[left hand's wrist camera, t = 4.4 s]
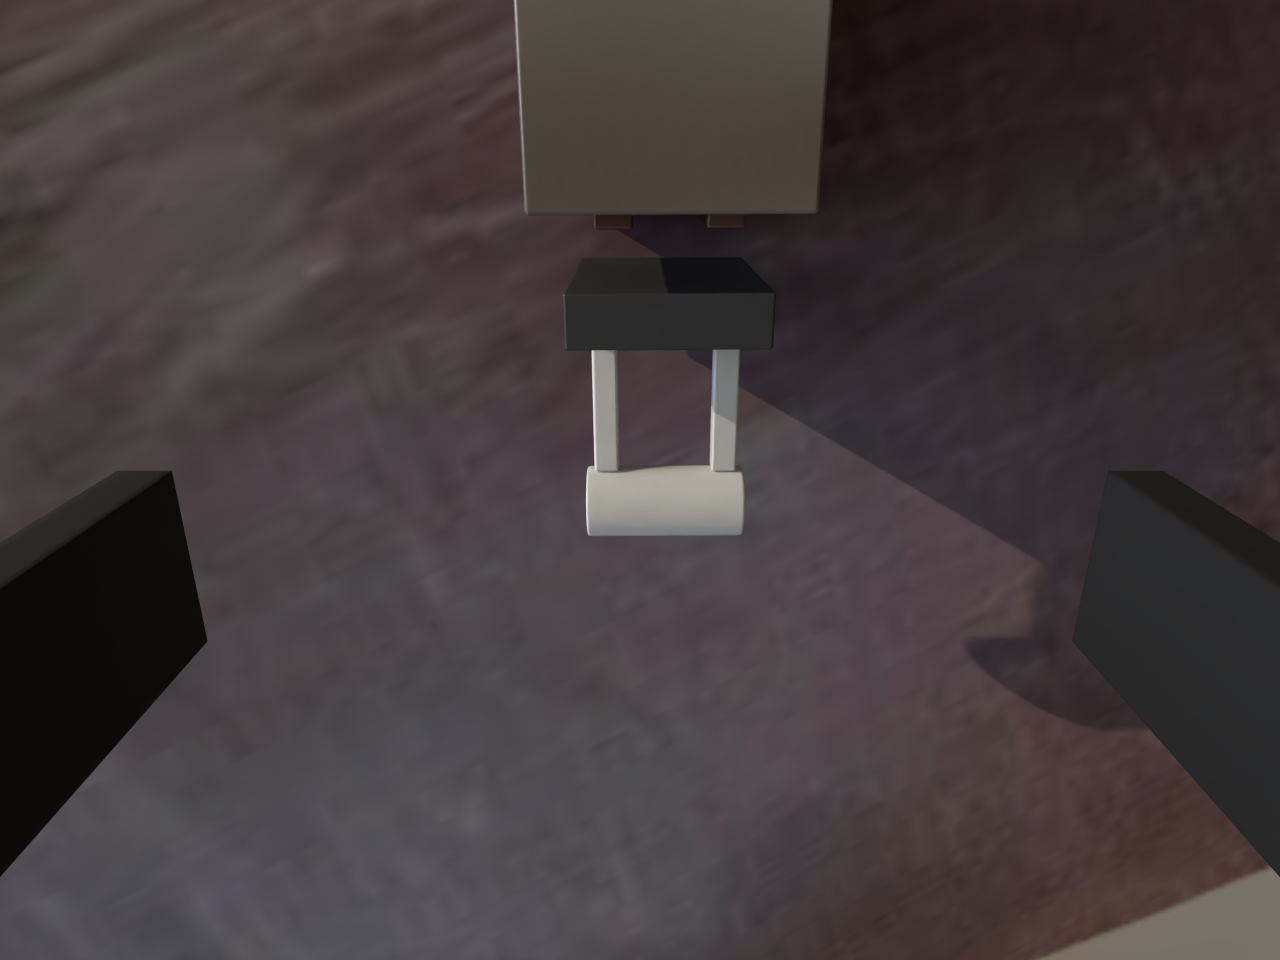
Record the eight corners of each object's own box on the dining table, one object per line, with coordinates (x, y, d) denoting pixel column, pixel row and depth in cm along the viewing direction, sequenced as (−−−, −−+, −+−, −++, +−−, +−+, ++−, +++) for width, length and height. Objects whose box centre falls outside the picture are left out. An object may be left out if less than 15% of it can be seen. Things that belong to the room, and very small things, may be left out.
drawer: (734, 479, 26) (761, 574, 20) (587, 480, 26) (573, 575, 20) (775, -641, 17) (845, -1039, 11) (555, -640, 17) (513, -1037, 11)
